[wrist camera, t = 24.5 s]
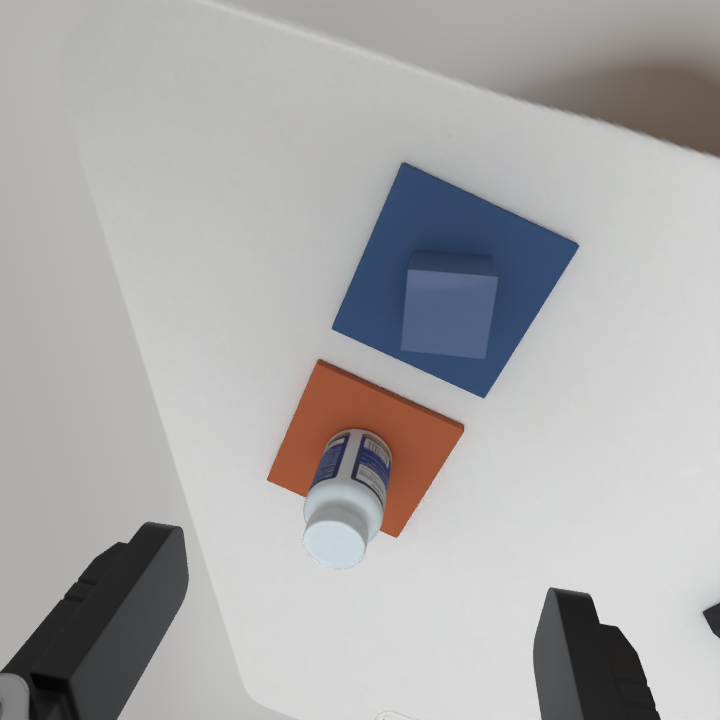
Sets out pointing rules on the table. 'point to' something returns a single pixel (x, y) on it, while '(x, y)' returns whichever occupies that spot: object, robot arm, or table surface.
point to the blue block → (449, 303)
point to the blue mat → (451, 235)
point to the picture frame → (713, 619)
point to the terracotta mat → (371, 413)
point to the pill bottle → (346, 498)
